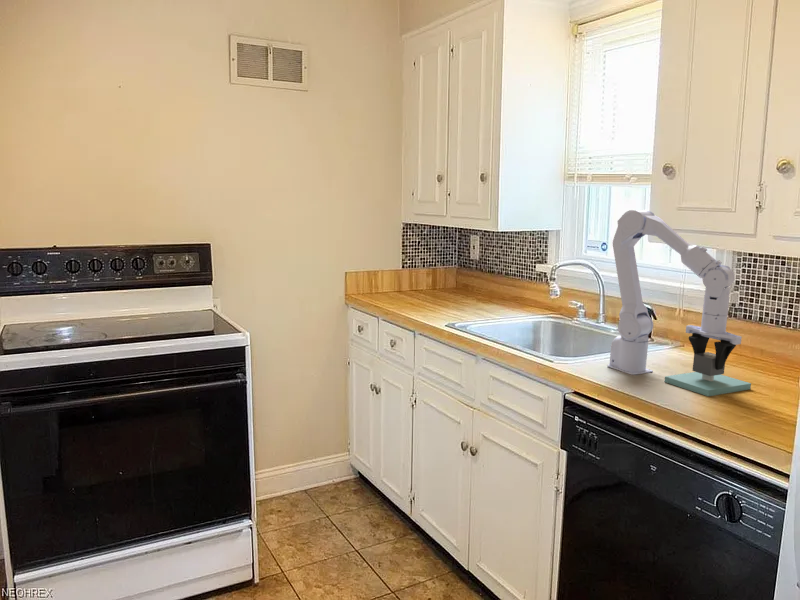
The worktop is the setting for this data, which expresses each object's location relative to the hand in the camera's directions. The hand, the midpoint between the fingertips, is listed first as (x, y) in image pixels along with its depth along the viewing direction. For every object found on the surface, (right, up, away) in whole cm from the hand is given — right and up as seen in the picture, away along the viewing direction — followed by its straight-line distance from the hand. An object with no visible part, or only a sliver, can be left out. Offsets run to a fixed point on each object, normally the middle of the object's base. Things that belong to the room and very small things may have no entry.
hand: (709, 366), depth 165 cm
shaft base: (0, -5, +1) cm, 5 cm away
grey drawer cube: (0, -2, 0) cm, 2 cm away
